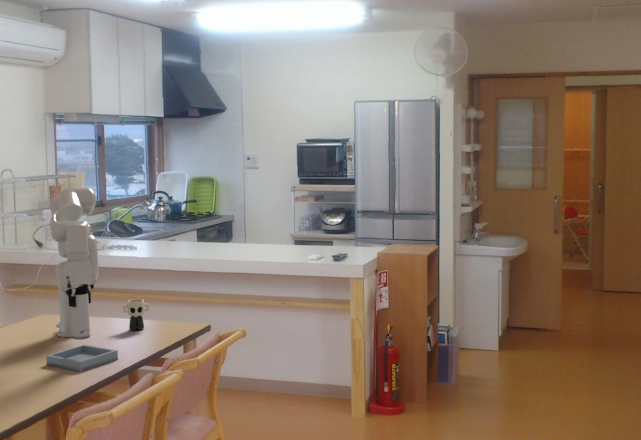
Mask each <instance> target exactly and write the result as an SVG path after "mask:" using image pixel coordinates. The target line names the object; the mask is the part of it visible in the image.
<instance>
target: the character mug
mask: <svg viewBox="0 0 641 440" xmlns="http://www.w3.org/2000/svg"><path fill="white" fill-rule="evenodd" d="M126 302H127V304H124V305H122V312H123V313H127V315H128V316H130V317H129V327H128V328H129V330H130V331H136V330H139V331H140V330H143V329H145V323H144V319H143V318H144V317H143V316H142V315H144V314H145V312H148V311H149V310H150V307H149V305H150V304H149V303H145V300H144V299H142V298H131V299H128V300H127V301H126ZM145 306H146V308H145ZM126 308H127V309H126Z"/></svg>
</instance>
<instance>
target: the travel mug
mask: <svg viewBox="0 0 641 440" xmlns="http://www.w3.org/2000/svg"><path fill="white" fill-rule="evenodd" d="M71 292H72V289H71ZM74 296H75V297H76V307H71V316H72V337H71V338H72V339H73V340H76V341H77V340H81V341H82V340H87V339H90V337H91V333H90V332H91V328H90V306H89V305H90V304H89V300H88V284H86V285H84V286H83V287H78V288H76V291H75V294H74Z"/></svg>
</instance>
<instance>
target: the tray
mask: <svg viewBox="0 0 641 440" xmlns="http://www.w3.org/2000/svg"><path fill="white" fill-rule="evenodd" d="M118 354H119V353H118V350H117V349H113V348H112V349H111V348H105V347H100V346H95V345H89V344H85V343H84V344H81V345H78V346H74V347H70V348H68V349H67V348H66V349H65V350H60V351H58V352H54V353H50V354H47V355H46V358H45V359H46V366H51V367H56V368H60V369H65V370H70V371H74V372H80V373H81V372H83V371H87V370H90V369H93V368H96V367H100V366H102V365H105V364H107V363H112V362H114V361H115V362H116V361H117V360H119V356H118Z"/></svg>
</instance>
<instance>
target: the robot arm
mask: <svg viewBox="0 0 641 440" xmlns="http://www.w3.org/2000/svg"><path fill="white" fill-rule="evenodd" d="M96 204H97V197H96V193H95V192H94V190H93V189H92V188H90V187H78V188H77V187H76V188H75V187H74V188H73V187H72V188H70V187H69V188H65V189H62V190H61V191H59V192H58V195H57V196H55V197H52V198H51V199H50V200H49V210H50V213H51V217H50V220H49V229H50V235H51V236H50V237H51V239H52V240H53V241H54V242H57V250H58V255H59V256H60V257H61V258H65V259H66V260H63V261H61V262H59V263H57V264H56V267H55V278H56V281H57V282H56V283H57V288H58V301H59V302H58V303H59V304H58V305H59V322H58V324H56V325H55V327H56V328H58V331H57V332H56V335H57V336H58V337H61V338H72V316H71V307H76V297H75V296H74V294H75V291H76V288H78V287H83V286H84V285H86V284H88V300H89V305H90V304H91V303H92V294H91V293H92V292H93V289H94V287H95V285H96V283H97V280H98V279H99V276H100V275H99V273H100V272H99V271H100V270H99V252H98V251H99V249H98V241H97V239H96V237H95V235H93V234H92V233H91V231H92V229H91V228H92V227H91V225H90V224H89V223H88V221H85V220H80V219H81V218H82V217H83V216H90V215H92V214H93V213H94V212H95V211H94V210H95V208H96ZM71 289H72V292H71Z"/></svg>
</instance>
